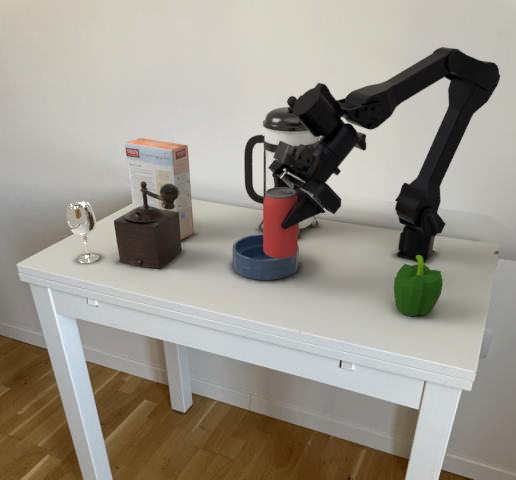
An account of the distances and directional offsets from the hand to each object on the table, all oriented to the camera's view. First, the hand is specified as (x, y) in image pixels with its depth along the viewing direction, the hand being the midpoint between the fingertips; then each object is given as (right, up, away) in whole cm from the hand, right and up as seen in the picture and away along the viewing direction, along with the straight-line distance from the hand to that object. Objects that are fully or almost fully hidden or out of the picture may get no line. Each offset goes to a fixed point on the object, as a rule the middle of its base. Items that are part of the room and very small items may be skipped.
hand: (274, 221), depth 100 cm
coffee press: (+3, +6, +34) cm, 34 cm away
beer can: (+1, -5, +4) cm, 7 cm away
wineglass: (-40, -4, +18) cm, 44 cm away
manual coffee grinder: (-24, -4, +18) cm, 31 cm away
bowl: (-1, -6, +15) cm, 16 cm away
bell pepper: (+26, -17, -1) cm, 31 cm away
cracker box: (-26, +4, +31) cm, 41 cm away
